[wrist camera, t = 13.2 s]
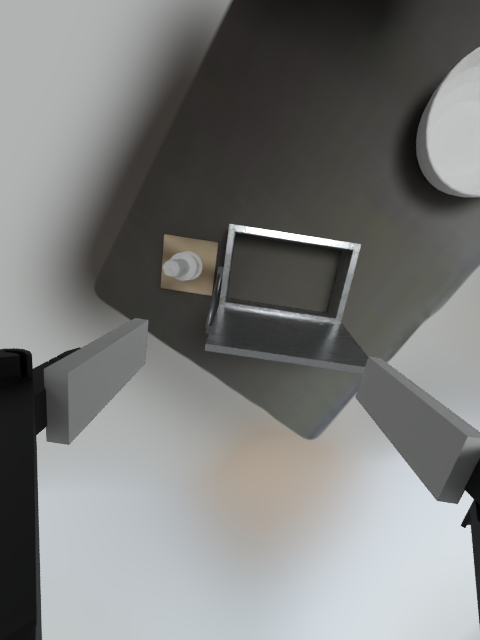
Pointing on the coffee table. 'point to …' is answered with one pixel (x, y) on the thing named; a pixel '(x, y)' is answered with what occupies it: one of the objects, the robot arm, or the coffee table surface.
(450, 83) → the bowl
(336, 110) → the coffee table surface
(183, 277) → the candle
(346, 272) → the case
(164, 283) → the mat
